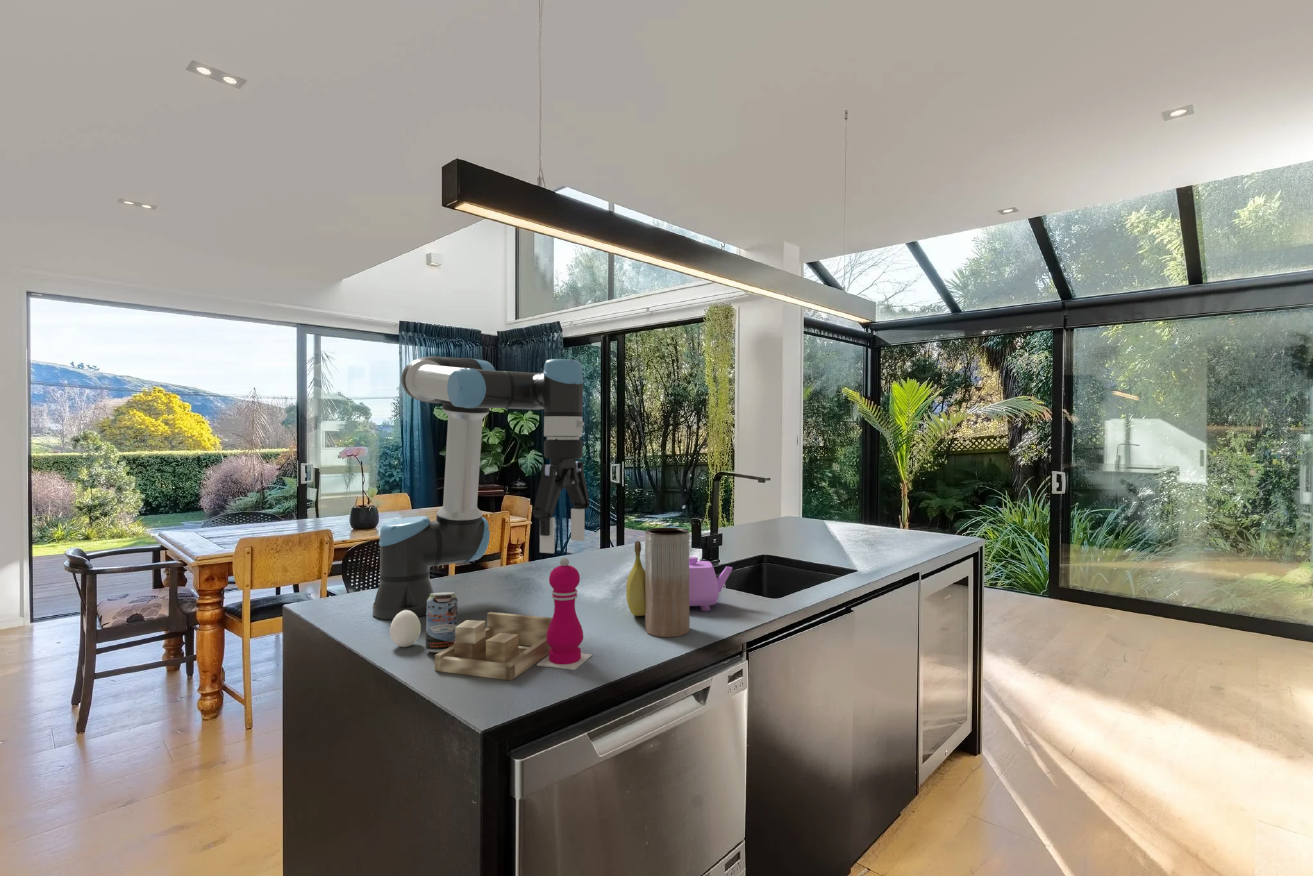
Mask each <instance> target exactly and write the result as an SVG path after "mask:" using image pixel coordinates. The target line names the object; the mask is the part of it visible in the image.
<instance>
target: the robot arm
mask: <svg viewBox="0 0 1313 876" xmlns="http://www.w3.org/2000/svg"><path fill="white" fill-rule="evenodd" d="M583 376H584V375H583V364H582V363H581V361H579V360H576V359H570V358H569V359H568V358H567V359H566V358H552V359H547V360H546V361H545V363H544V365H543V372H527V371H525V372H523V371H509V370H508V371H506V370H504V371H503V370H496V369H495V366H493V364H492V363H490V362H489V361H487V360H484V359H476V358H466V357H465V358H464V357H463V358H462V357H461V358H460V357H449V356H447V357H446V356H432V355H431V356H429V355H428V356H423V357H418V358H416V359H413V360H411V361H410V362H409V363H407V364H406V365H405V367H404V368H403V371H402V373H401V377H400V381H401V386H402V388H403V390H404V392H405V393H406V394H407V395H408V396H409V397H411V398H412V399H415V400H416V401H421V402H424V403H429V404H430V403H431V404H442V411H443V412H444V413H445V414H446V415H447V430H446V431H447V433H446V452H445V468H444V485H443V486H444V487H443V504H442V507H440V508H439V509H438V510H437V511H436V516H435V517H436V518H435V520H430V519H429V517H428V516H425V515H417V516H409V517H404V518H403V517H402V518H398V519H394V520H391V521H388V522H386V523H385V524H383V525H382V526H381V528H380V534H379V542H378V546H379V584H378V585H379V586H378V588H377V589H378V590H377V591H376V594H375V598H374V602H373V604H372V616H373V615H374V616H375V618H376V619H381V620H393V619H394V618H395V616H396V615H397V614H398V613H399V612H401V611H404V610H409V611H412V612H413V613H415V614H416V616H417V617H418V618H420V617H423V616H426V614H427V600H428V598H429V597H430V594H431V593H435V590H434V588H433V585H432V582H431V579H430V569H431V567H438V566H439V567H440V566H445V565H452V564H461V563H462V564H466V563H469V562H472V561H473V562H474V561H479V559H481V558H482V557H483V556H484V555H485V553H486V552H487V550H488V546H489V543H490V536H491V533H490V525H489V522H488V520H487V519H486V518H485V517H483V512H482V511H481V510H480V509H479V507H478V499H479V498H478V496H479V480H480V479H479V478H480V466H481V465H480V464H481V451H482V448H481V447H482V436H483V435H482V433H483V422H484V421H483V419H484V418H485V417H486V416H487V415H489V413H490V409H510V410H511V409H514V410H516V409H517V410H528V411H538V410H539V411H540V410H543V412H544V414H543V437H546V439H545V440H544V441H543V457H544V458H545V459H548V460H550V464H542V465H541V471H540V480H539V484H538V488H537V493H536V498H535V502H534V506H533V510H532V515H533V516H534V518H535V519H539V553H543V554H545V553H546V554H555V551H556V550H555V547H556V546H555V541H556V540H555V538H556V537H555V534H556V533H555V532H556V531H555V530H556V529H555V525H556V523H555V519H556V518H555V517H553V515H554V512H555V509H556V506H557V504H558V501H559V498H560V495H561V492H562V491H563V490H564V489H566V492H567V495H568V497H569V499H570V502H571V504H572V507H573V508H570V540H571V541H577V542H584V541H585V523H586V521H585V518H586V517H585V515H586V513H585V511H586V510H585V509H589V508H590V497H589V492H588V491H589V490H588V488H587V483H586V477H585V473H584V462H583V461H577V460H579V459H582V458H583V453H584V452H583V449H584V448H583V441H582V439H580V437H582V436H583V427H584V426H585V422H584V421H583V412H584V411H583V409H584V404H583V403H584V402H583V401H584V400H583V399H584V382H585V381H584V378H583ZM374 616H373V617H374Z"/></svg>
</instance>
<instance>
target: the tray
mask: <svg viewBox="0 0 1313 876" xmlns="http://www.w3.org/2000/svg"><path fill="white" fill-rule="evenodd" d="M552 618H553V617H548V616H538V615H536V616H535V615H526V614H525V615H524V614H515V613H507V612H506V613H504V612H492V611H489V612H487V613H486V636H487V640H488V639H490V638H492V637H493V636H495V635H497V634H499V633H508V634H518V656H516V657H514V658H513V659H511V660H510V661H508V662H507V663H498V662H490V661H482V660H473V659H465V658H456V657H454V645H453V646H451V647H449V648H447V649H445V650H443V651H441V652H436V654H434V671H435V672H443V673H450V674H457V675H466V676H474V677H482V678H488V679H489V678H490V679H496V680H504V681H513V680H515V678H517V677H518V676H520V675H521V674H523V673H524V672H525V671H527V670H528V669H530V668H531V667H533V666H534V665H536V664H537V663H539V662H540V661H542V660H543V659H544V658H546V657H547V656H549V650H550V649H551V647H550V646H549V644H548V643H547V640H546V636H547V630H548V627H549V625H550V623H551V620H552Z"/></svg>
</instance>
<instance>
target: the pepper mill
mask: <svg viewBox="0 0 1313 876" xmlns="http://www.w3.org/2000/svg"><path fill="white" fill-rule="evenodd" d="M559 563H560V565H557V566H555V567H554V568H553V569H552V570H551V571H550V574H549V577H548V581H549V582H548V583H549V586H550V587H551V588H552V589H553V590H552V591H551V594H552V595H551V598H552V599H553V603H554V607H553V609H554V610H553V616H552V617H551V618H552V620H551V623H550V625H549V627H548V630H547V636H546V640H547V643H548V644H549V646H550V647H551V649H550V650H549V654H548V656H549V660H550V662H552V663H555V664H571V663H575V662H577V661H579V660H580V658H581V653H582V649H581V648H580V647H579V646H580V645H581V643H582V642H583V640H584V630H583V628H582V625H581V623H580V620H579V618H578V615H577V613H576V599H577V598H578V589H576V588H577V587H578V586H579V585H580V581H581V578H580V572H579V570H577V567H576V568H575V567H574V566H572V565H569V564H570V560H569V559H568V558H567V557H562V558H561V559H560V560H559Z"/></svg>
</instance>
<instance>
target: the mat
mask: <svg viewBox="0 0 1313 876" xmlns="http://www.w3.org/2000/svg"><path fill="white" fill-rule="evenodd" d="M591 657H592V654H591V653H584V652H583V653H582V652H581V658H580V660H579V661H577V662H575V663H571V664H555V663H552V662H550V660H549V655H546V656H545V657H544V658H542V659H541V660H539V661H538V662H537V663H536V666H537V667H544V668H545V667H547V668H555V669H563V670H570V671H571V670H573V671H575V670H576V669H578V668H579V667H580V666H581V665H582V664H584V663H585V662H587V660H588V659H590V658H591Z"/></svg>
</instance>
